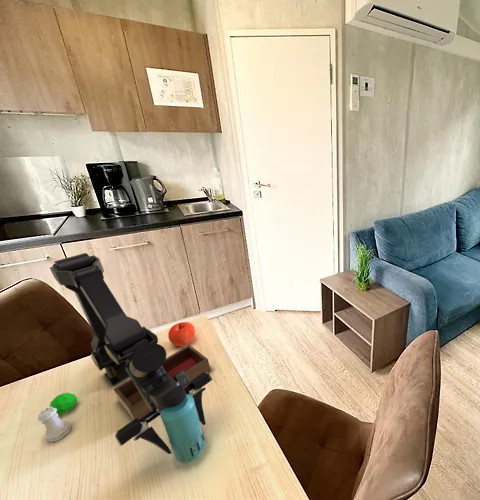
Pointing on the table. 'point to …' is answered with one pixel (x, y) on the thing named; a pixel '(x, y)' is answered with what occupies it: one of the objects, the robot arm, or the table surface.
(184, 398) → the beverage bottle
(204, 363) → the divided wooden tray
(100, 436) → the table surface
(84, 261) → the robot arm
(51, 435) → the rook chess piece
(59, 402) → the polyhedron
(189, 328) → the apple
